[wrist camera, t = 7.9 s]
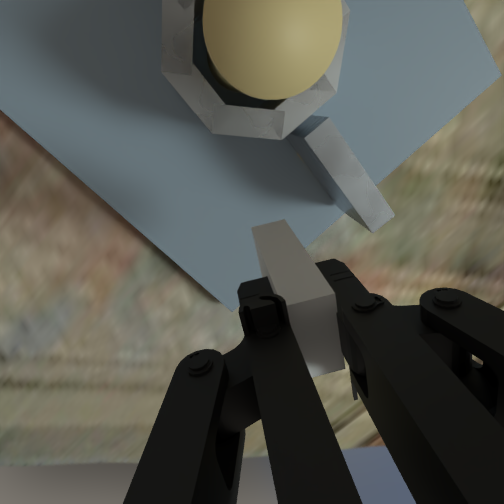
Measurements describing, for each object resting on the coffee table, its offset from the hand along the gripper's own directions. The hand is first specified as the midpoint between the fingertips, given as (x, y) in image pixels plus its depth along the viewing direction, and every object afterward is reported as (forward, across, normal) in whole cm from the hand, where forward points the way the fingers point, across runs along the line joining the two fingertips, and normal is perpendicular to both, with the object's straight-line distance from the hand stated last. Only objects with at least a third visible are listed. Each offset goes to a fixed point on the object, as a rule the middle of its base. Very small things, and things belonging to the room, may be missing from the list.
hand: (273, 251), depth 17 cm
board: (+8, +1, +8) cm, 12 cm away
